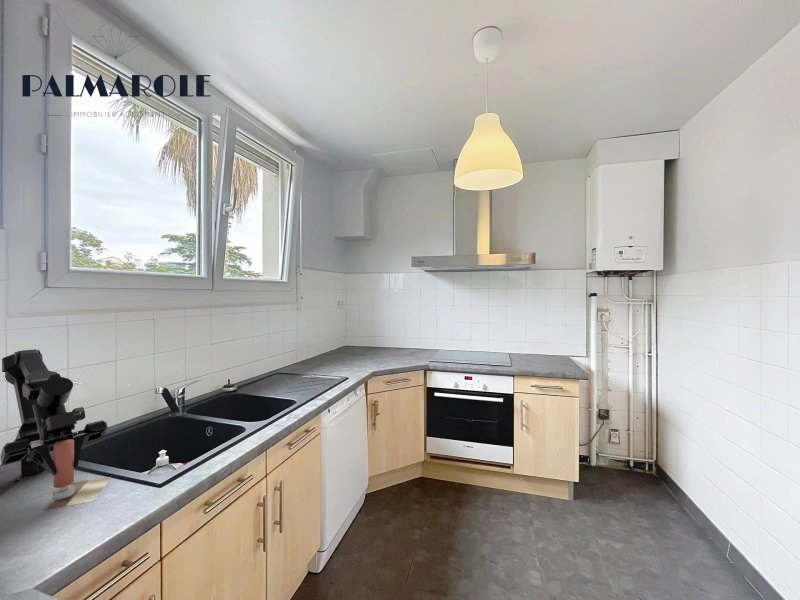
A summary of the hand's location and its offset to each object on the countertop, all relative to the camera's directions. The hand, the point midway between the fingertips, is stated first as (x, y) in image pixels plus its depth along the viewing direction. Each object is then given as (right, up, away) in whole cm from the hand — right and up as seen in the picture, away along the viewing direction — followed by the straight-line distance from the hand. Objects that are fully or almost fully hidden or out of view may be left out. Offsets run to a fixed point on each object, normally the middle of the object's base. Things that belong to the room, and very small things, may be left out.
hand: (65, 470), depth 84 cm
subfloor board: (0, -9, +4) cm, 10 cm away
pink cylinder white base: (-1, -6, +1) cm, 7 cm away
